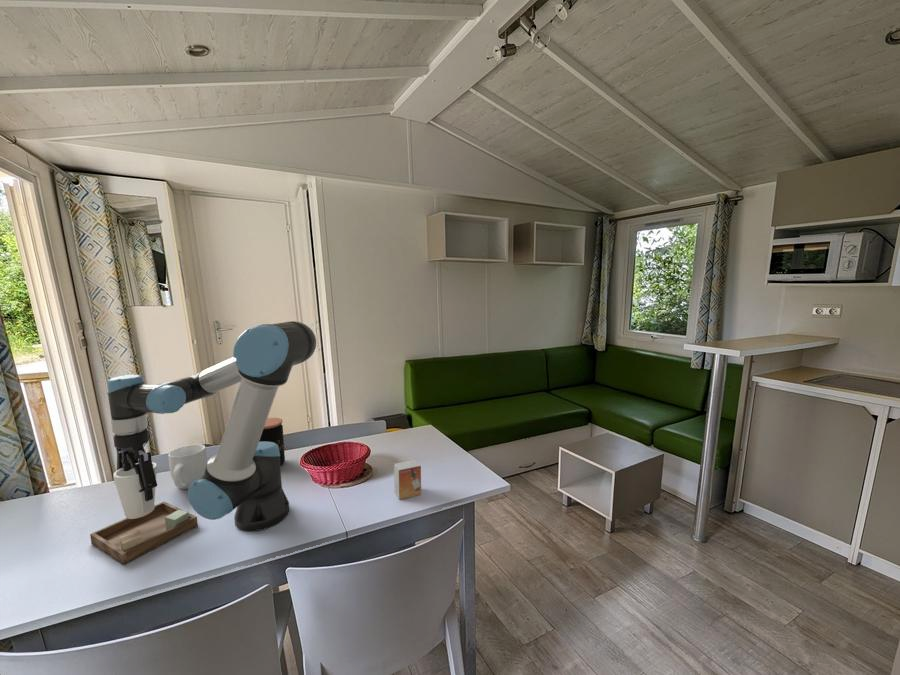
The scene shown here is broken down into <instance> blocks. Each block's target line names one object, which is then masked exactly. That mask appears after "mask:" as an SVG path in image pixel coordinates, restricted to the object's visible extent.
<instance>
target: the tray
mask: <svg viewBox="0 0 900 675" xmlns="http://www.w3.org/2000/svg"><path fill="white" fill-rule="evenodd" d="M177 510H182V511H185V510H183V509H182V508H179V507H177V506H175V505H172V504H170V503H169V502H166V501H162V502H159V503H158V504H155V508H154V510H153V511H152V512H151V513H149V514H147V515H145V516H143V517H140V518H135V519H128V518H126V517H125V518H124V519H121V520H119V521H117V522H115V523H111V524H109V525H107V526H105V527H103V528H101V529H98V530H96V531H94V532H92V533H90V535H89V537H90V543H91V545H92V546H93V547H95V548H97V549H98V550H99V551H101V552H102V553H104V554H106V555H107V556H108V557H110V558H112V560H114V561H115V562H118V563H119V564H120V565H121V566H125V565H127V564H128V563H129V564H130V563H131V562H132V561H135V560H136V559H138V558H140V557H142V556H144V555H146V554H148V553H149V552H152V551H153V550H155V549H157V548H159V547H161V546H163V545H165V544H166V543H168V542H171V541H172V540H174V539H176V538H178V537H181V535H184V534H186V533H188V532H189V531H191V530H193V529H195V528H196V527H198V526H199V525H198V516H197V515H194V514H192V513H190V512H189V519H188V520H186V521H184V522H182V523H180V524H178V525H176V526H174V527H172V528H170V529H168V530H166V524H165V517H166V516H168V515H170V514H172V513H174V512H175V511H177ZM138 530H140V532H141V535H142V539H143V543H141V544H139V545H137V546H135V547H133V548H131V549H129V550H127V551H125V552H124V551H122V549H121V541H120V537H122V536H124V535H127V534H130V533H132V532H135V531H138Z"/></svg>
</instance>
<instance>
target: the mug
mask: <svg viewBox="0 0 900 675" xmlns="http://www.w3.org/2000/svg"><path fill="white" fill-rule="evenodd" d="M167 457H168V466H169V472H170V475H171V476H170V477H171V479H172V480H173V484H174V486H175V487H176V488H178V489H180V490H188V489H189V487H190V485H191V484H192V483H193V482H194V481H195V480H197V479H200V478H201V477H202V476H203V474H204V471H205V468H206V465H207V462H208V460H207V459H208V458H207V448H206V445H204V444H200V443H199V444H188V445H183V446H179V447H177V448H174V449H172V450H171V451H170V452H169V453H168V455H167Z"/></svg>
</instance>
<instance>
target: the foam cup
mask: <svg viewBox="0 0 900 675" xmlns="http://www.w3.org/2000/svg"><path fill="white" fill-rule="evenodd" d="M137 464H138V463H137ZM152 465H153V469H154V473H155V477H156V478H157V474H158V470H157V463H156V462H153V461H152ZM112 477H113V484H114V485H115V487H116V490H117V495H118V496H119V497H118V498H119V499H120V503H121V506H122V510H123V512H124V516H125V518H128V519H135V518H140V517H143V516H145V515H147V514H149V513H151V512H152V511H153V510H154V509H152V510H150V511H147V512H145V513H142V506H141V497H140V492H139V490H141V486H140V483H139V476H138V474H137V475H136V472H135V469H134V468H133V469H131V470H129V471H124V469H123V468H121V469H119V470H117V469H116V471H114V472H113V476H112ZM153 495H154V503H155V500H156V487H154V488H153Z"/></svg>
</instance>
